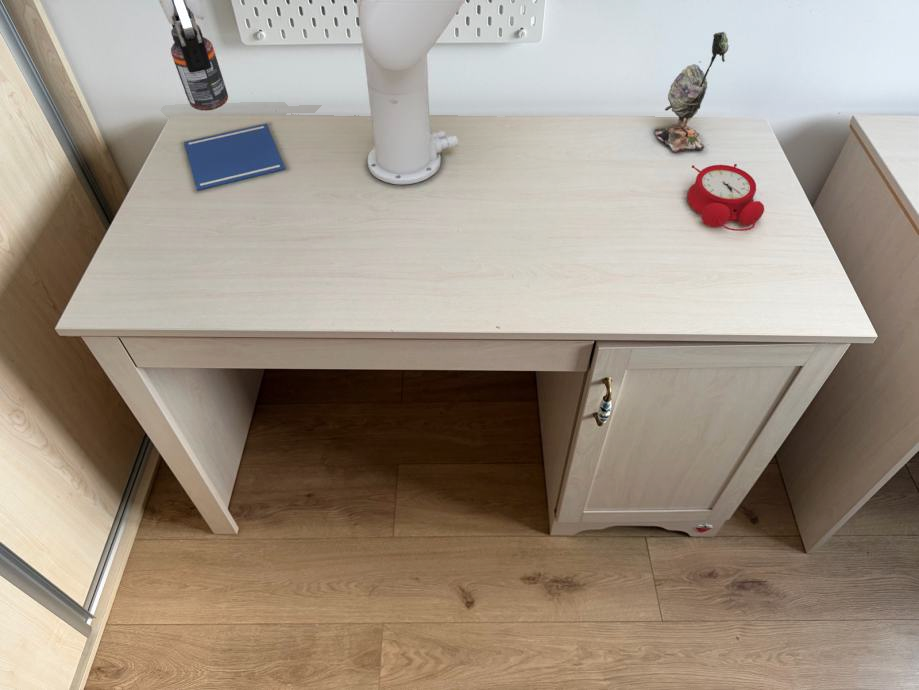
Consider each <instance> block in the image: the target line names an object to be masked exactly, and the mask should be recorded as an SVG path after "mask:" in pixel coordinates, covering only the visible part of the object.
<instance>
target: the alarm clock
mask: <svg viewBox="0 0 919 690" xmlns="http://www.w3.org/2000/svg"><path fill="white" fill-rule="evenodd" d="M691 168H692V169H694V170H695V171H696V172H697V176H696V178H695V181H694V183H693V184H692V185H691V186H690V187H689V188H688V190H687V194H686V199H687V203H688V205H689V206H690V208H691V209H692V210H694V211H695V212H696V214H698V215H700V216H701V217H700V219H701V221H702V222H703V224H705V225H706V226H707V227H711V228H719V227H723V228H725V229H726V230H729V231H736V232H738V231H739V232H743V231H749V230H752V229H754V228H755V226H756V223H757V222H758V221H759V220H761V218H762V217H763V215H764V212H765V206H764V204H763V202H761V201H760V200H755V201H754V197H755V195H756V192H757V183H756V181H755V179H754V178H753V176H751V175H750V174H749V173H748V172H746V171H745V170H743V169H741V168H739V167H738V165H737V163H734V164H733V166H732V165H727V164H713V165H708V166H707V167H704V168H702V169H701V170H700V169H698V168H697V167H696V166H695V165H691ZM732 222H738V223H739V224H740V225H741V226H743V227H744V226H745V227H747V228H731V227H729V226H726V224H727V223H732ZM751 225H752V226H751ZM748 226H750V227H748Z"/></svg>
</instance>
